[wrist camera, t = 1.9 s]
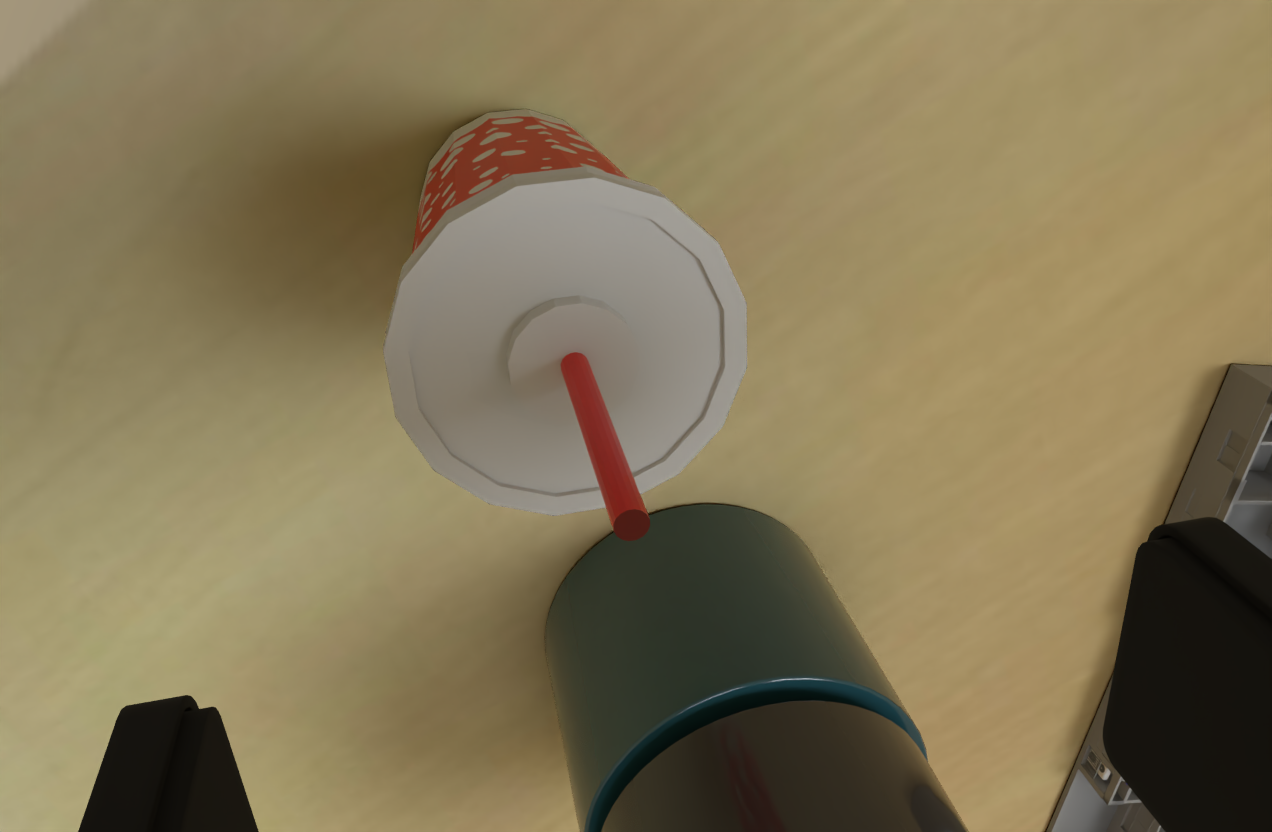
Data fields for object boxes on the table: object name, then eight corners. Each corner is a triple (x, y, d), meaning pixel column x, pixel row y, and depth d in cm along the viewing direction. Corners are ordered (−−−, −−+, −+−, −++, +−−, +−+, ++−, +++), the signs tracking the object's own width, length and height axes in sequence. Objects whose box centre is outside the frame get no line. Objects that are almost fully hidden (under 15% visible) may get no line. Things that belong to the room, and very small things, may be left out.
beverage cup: (625, 330, 27) (809, 705, 15) (382, 318, 26) (372, 721, 14) (659, 88, 25) (916, 309, 13) (391, 59, 23) (387, 277, 11)
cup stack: (498, 701, 32) (569, 1270, 19) (622, 465, 29) (805, 950, 16) (740, 757, 35) (941, 1277, 22) (875, 549, 32) (1197, 1010, 19)
